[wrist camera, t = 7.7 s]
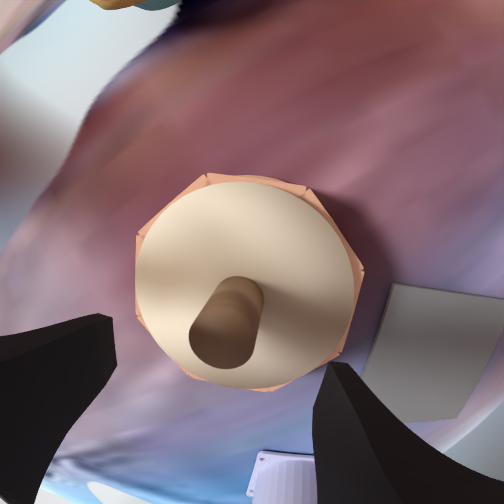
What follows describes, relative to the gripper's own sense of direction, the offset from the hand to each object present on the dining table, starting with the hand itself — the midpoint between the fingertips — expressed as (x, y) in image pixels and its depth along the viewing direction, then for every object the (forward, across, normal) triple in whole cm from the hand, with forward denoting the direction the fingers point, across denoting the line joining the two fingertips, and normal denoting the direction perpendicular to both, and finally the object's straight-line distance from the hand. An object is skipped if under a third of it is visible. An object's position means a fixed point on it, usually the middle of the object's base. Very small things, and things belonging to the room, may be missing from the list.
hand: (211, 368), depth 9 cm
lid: (+6, 0, 0) cm, 6 cm away
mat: (+10, -15, +5) cm, 18 cm away
